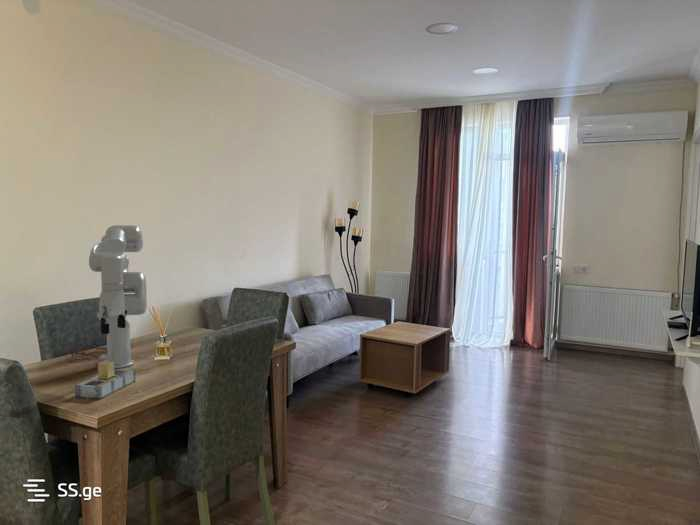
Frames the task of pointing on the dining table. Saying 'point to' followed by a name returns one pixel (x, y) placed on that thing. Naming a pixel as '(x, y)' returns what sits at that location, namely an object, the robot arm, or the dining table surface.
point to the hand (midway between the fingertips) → (113, 330)
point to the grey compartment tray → (104, 385)
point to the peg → (106, 370)
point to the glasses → (85, 350)
